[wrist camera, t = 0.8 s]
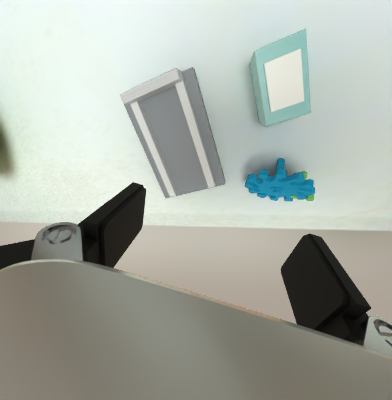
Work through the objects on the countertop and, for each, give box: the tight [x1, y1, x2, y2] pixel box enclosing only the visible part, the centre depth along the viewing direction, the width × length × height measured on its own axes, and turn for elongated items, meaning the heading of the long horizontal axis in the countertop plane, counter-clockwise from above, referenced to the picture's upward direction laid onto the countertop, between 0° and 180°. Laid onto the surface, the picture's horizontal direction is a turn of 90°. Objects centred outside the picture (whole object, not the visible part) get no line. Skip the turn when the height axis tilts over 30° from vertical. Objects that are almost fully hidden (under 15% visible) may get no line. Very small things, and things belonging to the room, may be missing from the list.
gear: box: [245, 159, 315, 201], centre depth 28 cm, size 11×6×10 cm
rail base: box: [120, 67, 225, 198], centre depth 29 cm, size 12×18×4 cm, turn 18°
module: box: [250, 29, 311, 127], centre depth 22 cm, size 5×8×6 cm, turn 18°
